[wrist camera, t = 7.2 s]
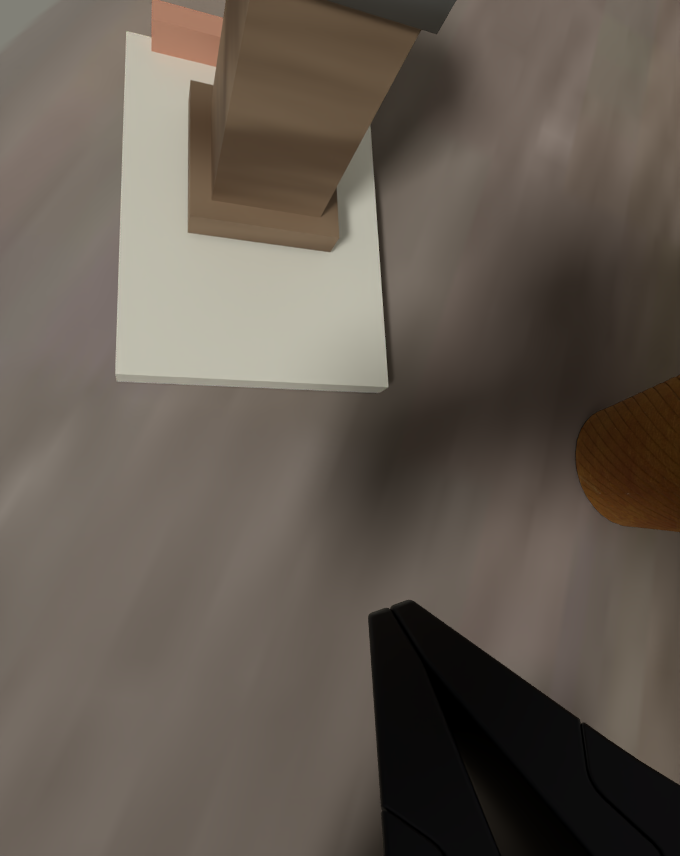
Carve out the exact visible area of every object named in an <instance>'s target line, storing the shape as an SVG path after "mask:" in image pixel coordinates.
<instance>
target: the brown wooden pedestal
mask: <svg viewBox="0 0 680 856" xmlns="http://www.w3.org/2000/svg"><path fill="white" fill-rule="evenodd" d="M455 2H456V0H226V3H225V10H224V17H223V24H222V31H221V37H220V44H219V51H218V58H217V65H216V71H215V78H214V85H211V84H206V83H202V82H198V81H193V80H190V90H189V101H188V233H193V234H200V235H207V236H215V237H222V238H229V239H236V240H244V241H251V242H258V243H266V244H273V245H280V246H287V247H295V248H302V249H309V250H317V251H324V252H331V250H332V249H333V247H334V246H335V244H336V243H337V241H338V239H339V221H338V202H337V185H338V184H339V182H340V180H341V178H342V176H343V174H344V172H345V171H346V169H347V167H348V165H349V163H350V161H351V159H352V158H353V156H354V154H355V152H356V150H357V148H358V146H359V144H360V143H361V141H362V139H363V137H364V135H365V133H366V131H367V130H368V128H369V126H370V124H371V122H372V120H373V118H374V117H375V115H376V113H377V111H378V109H379V107H380V105H381V103H382V102H383V100H384V98H385V96H386V94H387V92H388V90H389V89H390V87H391V85H392V83H393V81H394V79H395V77H396V76H397V74H398V72H399V70H400V68H401V66H402V64H403V63H404V61H405V59H406V57H407V55H408V53H409V51H410V49H411V48H412V46H413V44H414V42H415V40H416V38H417V36H418V35H419V33H420V31H421V30H425V31H428V32H431V33H435V34H437V33H438V31H439V30H440V28H441V26H442V24H443V23H444V21H445V19H446V17H447V16H448V14H449V12H450V10H451V9H452V7H453V5H454V3H455Z"/></svg>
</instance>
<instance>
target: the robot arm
mask: <svg viewBox="0 0 680 856" xmlns="http://www.w3.org/2000/svg"><path fill="white" fill-rule="evenodd" d="M368 623H369V638H370V653H371V668H372V682H373V697H374V712H375V727H376V741H377V756H378V771H379V786H380V800H381V809H382V812H381V819H382V834H383V855H384V856H680V785H679V784H677V783H675V782H674V781H672V780H670V779H669V778H667V777H665V776H664V775H662V774H661V773H659V772H657V771H656V770H654V769H652V768H651V767H649V766H647V765H646V764H644V763H643V762H641V761H639V760H638V759H636V758H635V757H634V756H632V755H631V754H629V753H628V752H626V751H625V750H623V749H622V748H620V747H619V746H617V745H616V744H614V743H613V742H611V741H610V740H608V739H607V738H606V737H604V736H603V735H601V734H600V733H599V732H597V731H596V730H594V729H593V728H592V727H590V726H589V725H587V724H586V723H581V722H580V719H579V718H577V717H576V716H574V715H573V714H572V713H570V712H569V711H567V710H566V709H565V708H563V707H562V706H560V705H559V704H558V703H556V702H555V701H553V700H552V699H551V698H549V697H548V696H546V695H545V694H544V693H542V692H541V691H539V690H538V689H536V688H535V687H534V686H532V685H531V684H529V683H528V682H527V681H525V680H524V679H522V678H521V677H520V676H518V675H517V674H515V673H514V672H513V671H511V670H510V669H508V668H507V667H506V666H504V665H503V664H501V663H500V662H499V661H497V660H496V659H494V658H493V657H491V656H490V655H489V654H487V653H486V652H484V651H483V650H482V649H480V648H479V647H477V646H476V645H475V644H473V643H472V642H470V641H469V640H468V639H466V638H465V637H463V636H462V635H461V634H459V633H458V632H456V631H455V630H454V629H452V628H451V627H449V626H448V625H446V624H445V623H444V622H442V621H441V620H439V619H438V618H437V617H435V616H434V615H432V614H431V613H430V612H428V611H427V610H425V609H424V608H423V607H421V606H420V605H418V604H417V603H416V602H414V601H412V600H406V601H403V602H400V603H398V604H395V605H393V606H391V608H390V609H389V608H384V609H381V610H378V611H375V612H372V613H370V614H369V616H368Z"/></svg>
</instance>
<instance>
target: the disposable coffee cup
mask: <svg viewBox="0 0 680 856" xmlns="http://www.w3.org/2000/svg"><path fill="white" fill-rule="evenodd" d="M576 467H577V473H578V477H579V480H580V483H581V486H582V488H583V490H584V493H585V495H586V496H587V498H588V499H589V501H590V502H591V503H592V505H593V506H594V508H595V509H596V510H597V511H598V512H599V513H600V514H601V515H603V516H604V517H605V518H607V519H608V520H610V521H611V522H614V523H617V524H619V525H622V526H629V527H641V528H649V529H659V530H667V531H676V532H680V375H678V376H676V377H673V378H671V379H669V380H667V381H665V382H664V383H660V384H658V385H656V386H654V387H653V388H649V389H647V390H645V391H643V392H642V393H641V392H640V393H638V394H637V395H635V396H633V397H630V398H628V399H626V400H624V401H622V402H619V403H617V404H615V405H613V406H610V407H608V408H606V409H604V410H600V411H599V412H597V413H595V414H594V415H592V416H591V417H590V418H589V419H588V420H587V421H586V423H585V424H584V426H583V428H582V429H581V431H580V434H579V437H578V440H577V447H576Z"/></svg>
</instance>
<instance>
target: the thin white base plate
mask: <svg viewBox="0 0 680 856" xmlns="http://www.w3.org/2000/svg"><path fill="white" fill-rule="evenodd" d="M222 24H223V18H221V17H218V16H214V15H210V14H207V13H203V12H200V11H196V10H192V9H189V8H185V7H181V6H178V5H174V4H171V3H167V2H163V1H160V0H152V37H148V36H144V35H140V34H136V33H132V32H128V31H126V60H125V91H124V122H123V153H122V184H121V214H120V245H119V276H118V307H117V338H116V369H115V375H116V380H117V382H139V383H161V384H184V385H207V386H229V387H252V388H274V389H297V390H320V391H342V392H365V393H380V392H382V391H383V390H385V389H387V388H388V372H387V358H386V343H385V329H384V315H383V300H382V286H381V272H380V257H379V243H378V228H377V214H376V200H375V185H374V171H373V157H372V142H371V128H370V126H369V128H368V130H367V131H366V133H365V135H364V137H363V139H362V141H361V143H360V144H359V146H358V148H357V150H356V152H355V154H354V156H353V158H352V159H351V161H350V163H349V165H348V167H347V169H346V171H345V172H344V174H343V176H342V178H341V180H340V182H339V184H338V185H337V202H338V221H339V239H338V241H337V243H336V244H335V246H334V247H333V249H332V250H331V252H324V251H317V250H309V249H302V248H295V247H287V246H280V245H273V244H266V243H258V242H251V241H244V240H236V239H229V238H222V237H215V236H207V235H200V234H193V233H188V101H189V90H190V80H193V81H198V82H202V83H206V84H211V85H214V78H215V71H216V65H217V58H218V51H219V44H220V37H221V31H222Z"/></svg>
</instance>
